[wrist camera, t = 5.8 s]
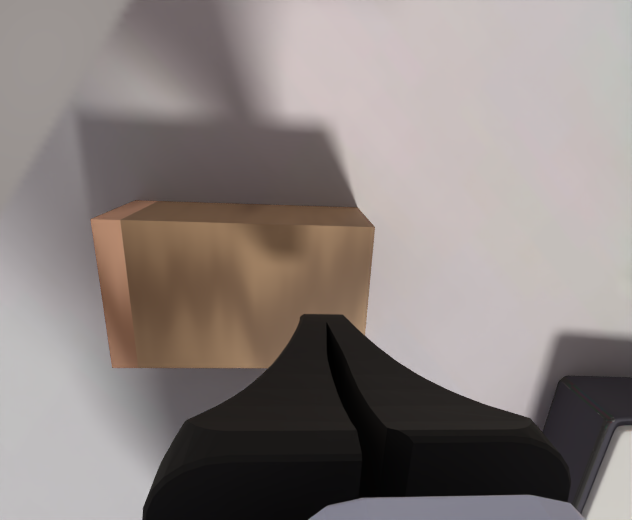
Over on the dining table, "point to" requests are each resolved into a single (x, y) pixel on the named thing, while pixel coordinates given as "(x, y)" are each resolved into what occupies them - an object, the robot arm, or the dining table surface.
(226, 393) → the dining table surface
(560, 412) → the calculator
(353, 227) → the walnut block
